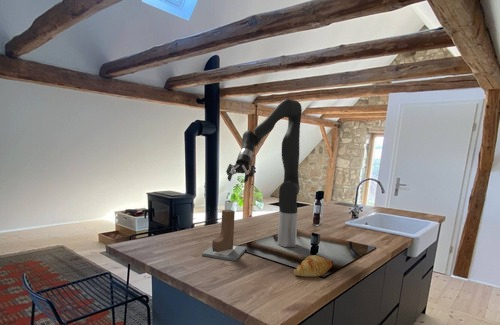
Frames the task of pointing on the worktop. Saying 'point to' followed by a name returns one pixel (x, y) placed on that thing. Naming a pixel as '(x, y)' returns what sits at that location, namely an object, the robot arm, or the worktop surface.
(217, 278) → the worktop surface
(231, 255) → the socket board
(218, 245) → the wooden block
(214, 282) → the worktop surface
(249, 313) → the worktop surface
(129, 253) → the worktop surface
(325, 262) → the croissant
